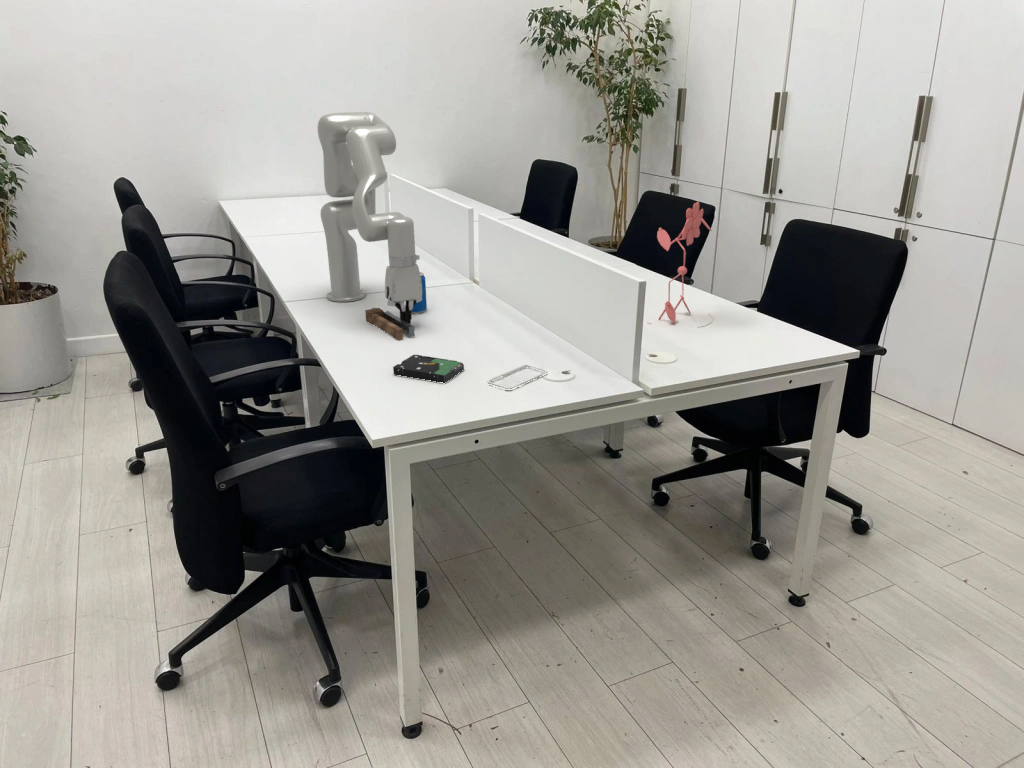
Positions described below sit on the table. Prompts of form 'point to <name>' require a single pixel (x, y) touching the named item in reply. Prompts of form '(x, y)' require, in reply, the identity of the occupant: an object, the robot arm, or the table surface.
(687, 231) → the figurine
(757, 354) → the table surface
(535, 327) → the table surface
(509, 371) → the phone case
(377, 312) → the brown bar with block
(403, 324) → the long gray metal bar
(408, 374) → the disk drive
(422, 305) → the beverage can
